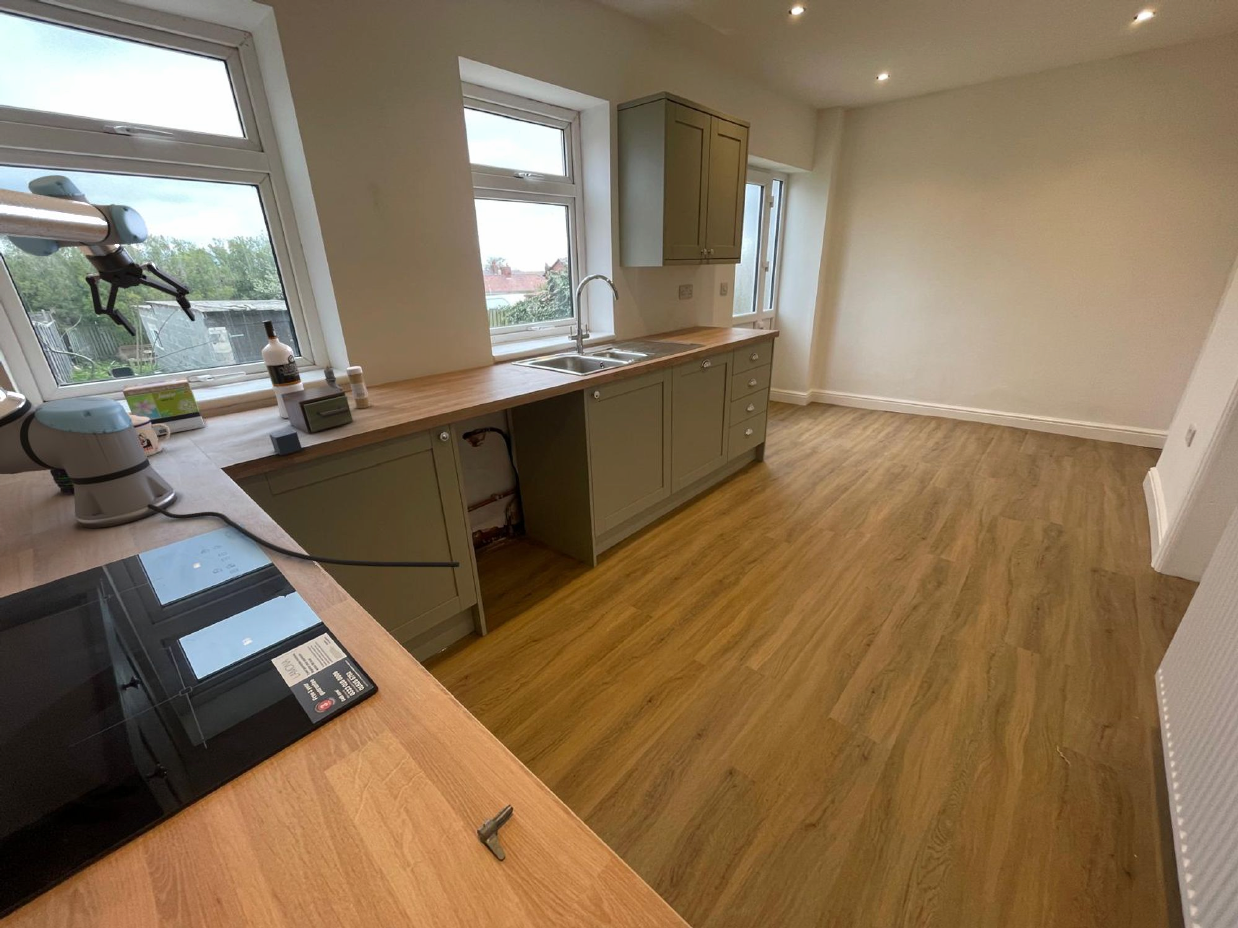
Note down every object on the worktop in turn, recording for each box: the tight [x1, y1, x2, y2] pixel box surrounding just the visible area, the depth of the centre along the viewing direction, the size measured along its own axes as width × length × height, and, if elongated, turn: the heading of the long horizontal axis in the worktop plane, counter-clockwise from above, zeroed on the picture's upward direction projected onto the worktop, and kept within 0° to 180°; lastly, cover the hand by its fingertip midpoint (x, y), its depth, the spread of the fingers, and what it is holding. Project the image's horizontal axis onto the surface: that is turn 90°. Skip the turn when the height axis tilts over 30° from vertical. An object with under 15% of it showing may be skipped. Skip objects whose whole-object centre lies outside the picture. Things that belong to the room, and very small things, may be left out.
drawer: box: [303, 395, 354, 432], centre depth 149 cm, size 18×11×8 cm, turn 49°
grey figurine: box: [323, 365, 343, 391], centre depth 179 cm, size 6×6×12 cm
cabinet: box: [281, 384, 354, 435], centre depth 152 cm, size 15×13×10 cm
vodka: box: [261, 319, 305, 419], centre depth 158 cm, size 9×9×30 cm
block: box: [269, 428, 303, 457], centre depth 132 cm, size 5×5×5 cm
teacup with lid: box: [126, 411, 171, 457], centre depth 134 cm, size 12×9×12 cm
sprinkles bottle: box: [345, 365, 371, 409], centre depth 167 cm, size 5×5×14 cm
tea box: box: [122, 376, 205, 436], centre depth 152 cm, size 15×10×15 cm, turn 131°
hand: (164, 326), depth 135 cm, fingers open, 13 cm apart
